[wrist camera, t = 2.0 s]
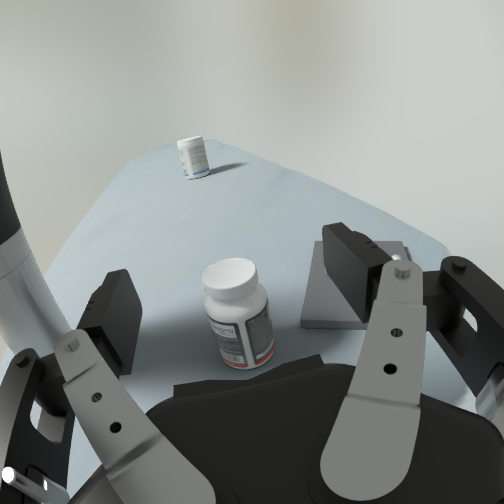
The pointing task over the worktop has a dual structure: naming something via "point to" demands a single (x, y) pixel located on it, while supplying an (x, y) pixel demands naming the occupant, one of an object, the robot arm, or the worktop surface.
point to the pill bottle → (238, 313)
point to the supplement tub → (193, 157)
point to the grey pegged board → (335, 293)
